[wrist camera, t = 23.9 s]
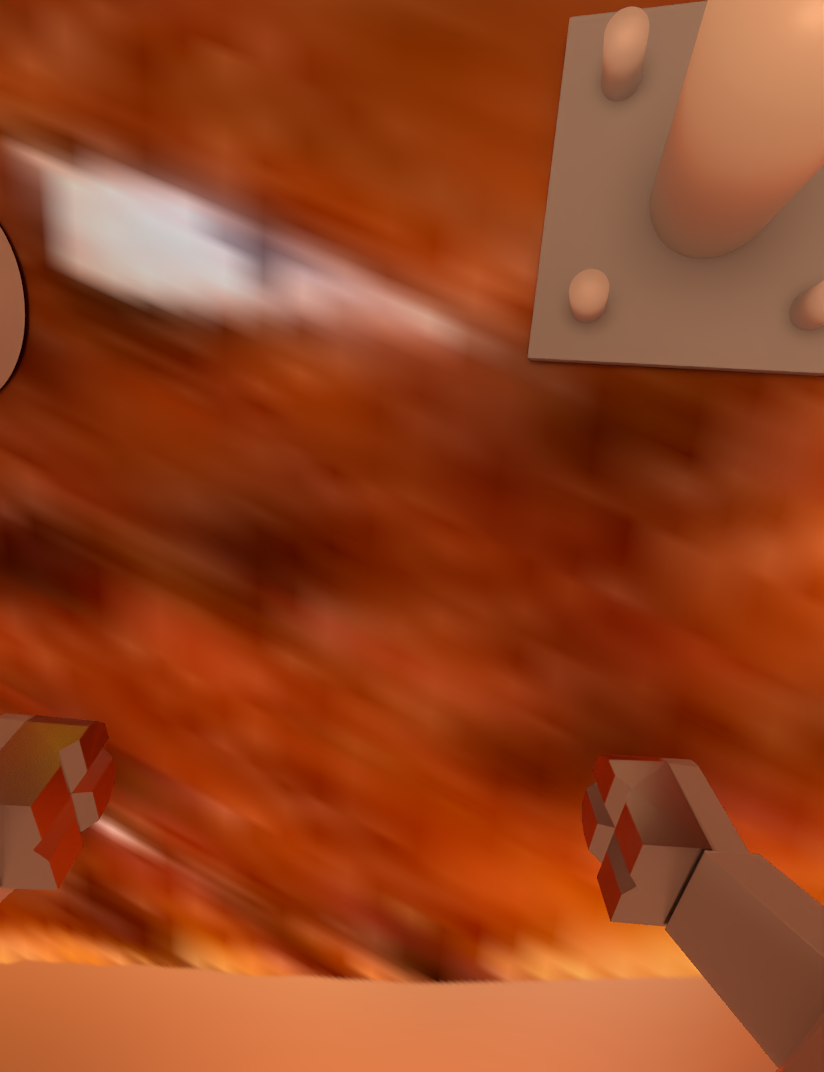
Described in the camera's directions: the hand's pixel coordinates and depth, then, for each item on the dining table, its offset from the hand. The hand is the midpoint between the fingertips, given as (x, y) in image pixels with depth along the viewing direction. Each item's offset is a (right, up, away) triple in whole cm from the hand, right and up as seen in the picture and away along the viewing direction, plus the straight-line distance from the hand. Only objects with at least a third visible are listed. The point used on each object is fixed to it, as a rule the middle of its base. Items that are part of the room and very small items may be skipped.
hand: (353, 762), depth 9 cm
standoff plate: (+14, +19, +15) cm, 28 cm away
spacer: (+14, +18, +14) cm, 27 cm away
